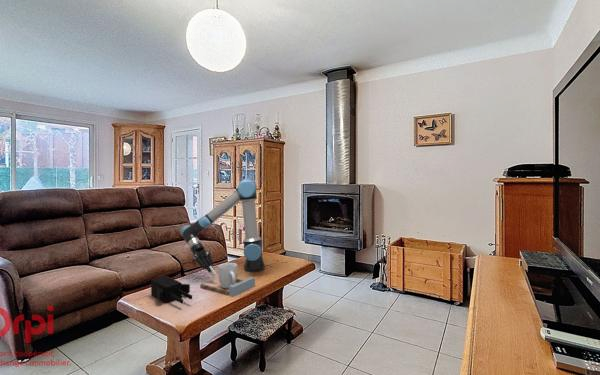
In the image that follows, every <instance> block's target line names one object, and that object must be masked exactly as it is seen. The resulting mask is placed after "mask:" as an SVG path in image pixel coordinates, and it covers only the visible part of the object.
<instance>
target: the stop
mask: <svg viewBox="0 0 600 375" xmlns="http://www.w3.org/2000/svg"><path fill="white" fill-rule="evenodd" d="M242 280H243V281H241V282H238V283H235V284H234V285H231V286H229V288H228V291H229V295H228V296H230V297H235V296H237V295H239V294H242V293H245V291H247V290H250V289H252V288H254V287H255V286H256V278H255V277H252V276H250V277H247V278H245V279H242Z"/></svg>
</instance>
